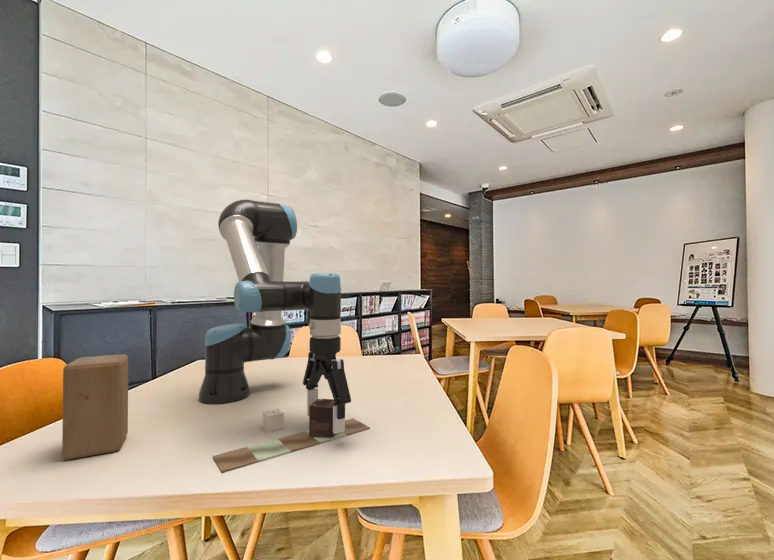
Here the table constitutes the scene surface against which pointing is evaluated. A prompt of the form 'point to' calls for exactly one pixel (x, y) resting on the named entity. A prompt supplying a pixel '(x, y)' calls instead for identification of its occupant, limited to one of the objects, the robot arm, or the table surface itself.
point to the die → (273, 420)
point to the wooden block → (94, 405)
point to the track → (279, 447)
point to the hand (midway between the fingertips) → (324, 423)
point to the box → (321, 418)
